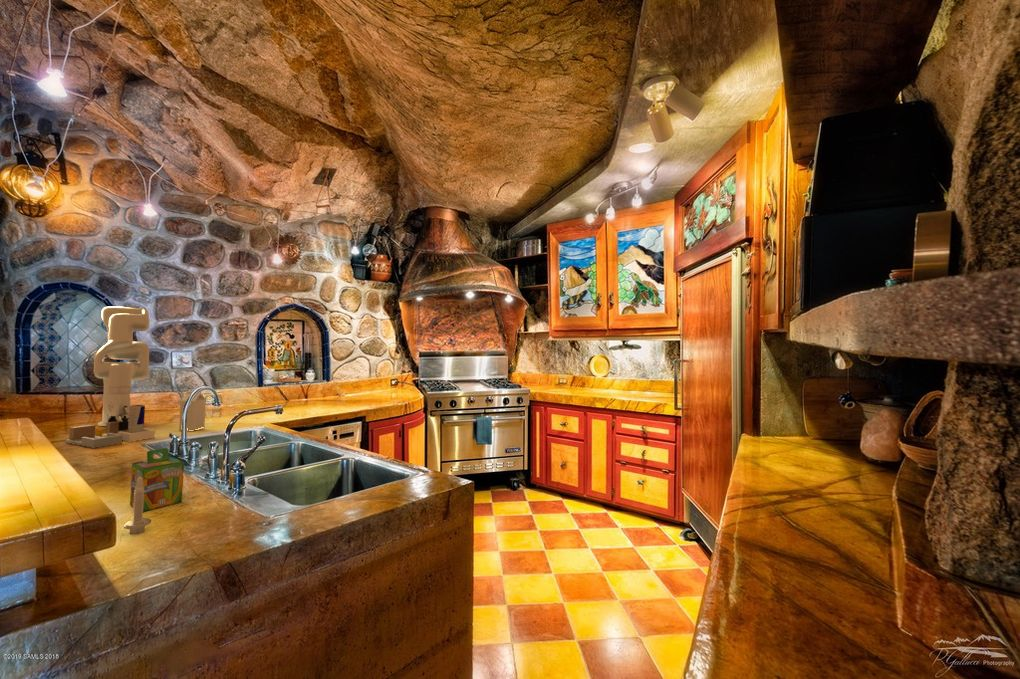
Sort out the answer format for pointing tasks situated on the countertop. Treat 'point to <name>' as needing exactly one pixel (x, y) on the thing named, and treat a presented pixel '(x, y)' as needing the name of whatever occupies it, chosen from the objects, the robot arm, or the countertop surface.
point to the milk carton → (194, 412)
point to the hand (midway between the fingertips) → (117, 429)
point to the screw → (138, 510)
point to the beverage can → (136, 418)
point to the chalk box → (158, 480)
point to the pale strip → (114, 426)
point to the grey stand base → (91, 437)
